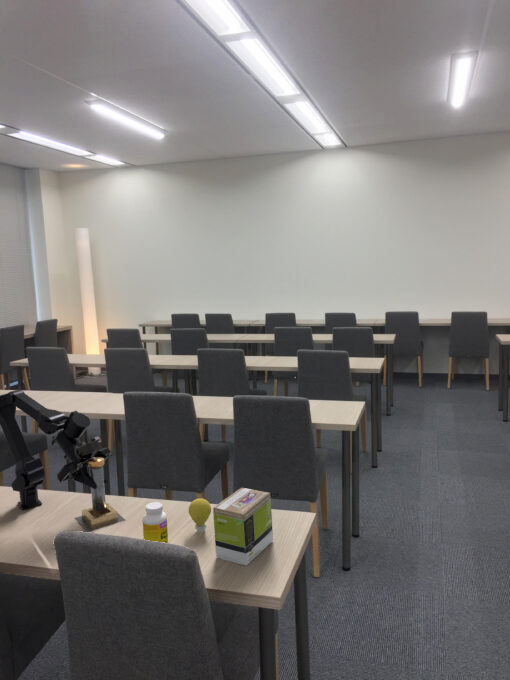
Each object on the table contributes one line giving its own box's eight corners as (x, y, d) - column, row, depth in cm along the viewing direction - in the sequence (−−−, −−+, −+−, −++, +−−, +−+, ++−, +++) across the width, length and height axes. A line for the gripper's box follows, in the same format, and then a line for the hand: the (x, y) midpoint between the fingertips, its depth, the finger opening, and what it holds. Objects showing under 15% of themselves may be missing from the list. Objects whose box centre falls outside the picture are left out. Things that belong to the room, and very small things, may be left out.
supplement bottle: (163, 556, 150) (160, 511, 148) (140, 554, 151) (137, 510, 149) (171, 544, 156) (169, 501, 155) (149, 542, 158) (147, 499, 156)
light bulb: (202, 523, 168) (201, 492, 167) (216, 530, 163) (215, 498, 162) (185, 531, 163) (183, 499, 162) (199, 539, 159) (197, 506, 157)
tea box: (243, 534, 161) (241, 485, 159) (273, 541, 156) (272, 492, 154) (214, 558, 148) (212, 506, 146) (246, 567, 143) (244, 513, 141)
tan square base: (74, 520, 173) (73, 510, 173) (111, 509, 180) (110, 499, 180) (88, 534, 163) (87, 524, 163) (126, 522, 170) (125, 512, 170)
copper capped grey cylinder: (89, 507, 172) (85, 459, 170) (103, 503, 174) (100, 456, 172) (94, 512, 168) (91, 463, 166) (109, 508, 171) (106, 460, 169)
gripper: (61, 440, 161) (92, 481, 158) (104, 423, 178) (134, 460, 174) (43, 462, 166) (73, 503, 163) (88, 443, 182) (116, 480, 179)
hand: (101, 485), depth 170 cm, fingers closed on copper capped grey cylinder, 4 cm apart
